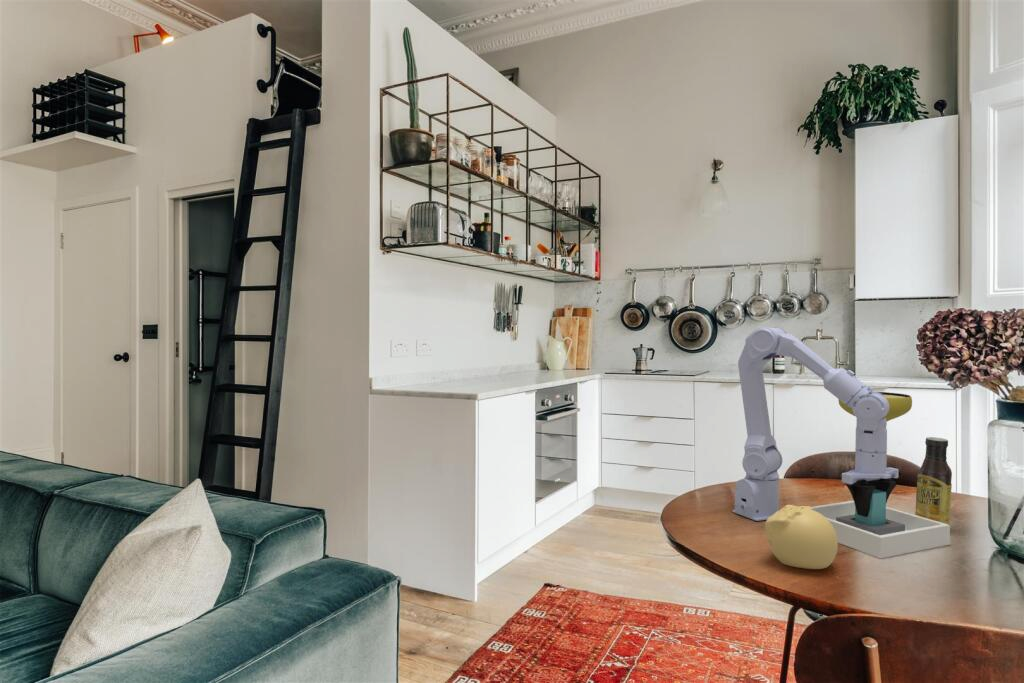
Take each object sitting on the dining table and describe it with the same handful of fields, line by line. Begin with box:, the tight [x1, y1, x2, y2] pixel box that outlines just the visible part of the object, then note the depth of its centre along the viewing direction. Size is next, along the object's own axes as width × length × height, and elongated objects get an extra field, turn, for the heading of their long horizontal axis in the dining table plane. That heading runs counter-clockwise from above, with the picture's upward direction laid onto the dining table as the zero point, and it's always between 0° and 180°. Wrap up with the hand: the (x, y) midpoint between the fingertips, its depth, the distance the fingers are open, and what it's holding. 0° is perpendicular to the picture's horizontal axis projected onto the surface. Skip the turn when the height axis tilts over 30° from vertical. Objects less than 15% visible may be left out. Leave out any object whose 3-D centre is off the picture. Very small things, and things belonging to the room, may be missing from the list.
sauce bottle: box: [914, 436, 953, 525], centre depth 134 cm, size 7×6×20 cm
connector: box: [855, 489, 887, 526], centre depth 130 cm, size 4×4×8 cm
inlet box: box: [810, 500, 951, 559], centre depth 130 cm, size 20×20×4 cm
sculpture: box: [764, 504, 839, 570], centre depth 115 cm, size 11×12×11 cm
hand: (870, 514), depth 130 cm, fingers closed on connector, 4 cm apart
